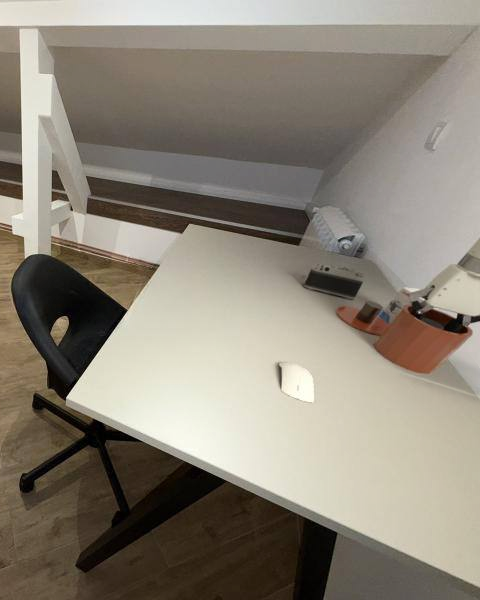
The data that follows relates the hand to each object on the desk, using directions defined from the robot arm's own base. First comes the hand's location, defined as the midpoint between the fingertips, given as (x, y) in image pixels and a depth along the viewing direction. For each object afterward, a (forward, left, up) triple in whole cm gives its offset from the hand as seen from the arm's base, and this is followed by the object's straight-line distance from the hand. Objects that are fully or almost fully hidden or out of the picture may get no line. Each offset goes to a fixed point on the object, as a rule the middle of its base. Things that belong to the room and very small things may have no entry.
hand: (427, 329), depth 78 cm
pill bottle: (0, 0, -9) cm, 9 cm away
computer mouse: (+28, +26, -10) cm, 40 cm away
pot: (0, 0, -10) cm, 10 cm away
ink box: (-4, -18, -10) cm, 21 cm away
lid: (+6, -14, -9) cm, 18 cm away
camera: (+13, -32, -10) cm, 36 cm away
